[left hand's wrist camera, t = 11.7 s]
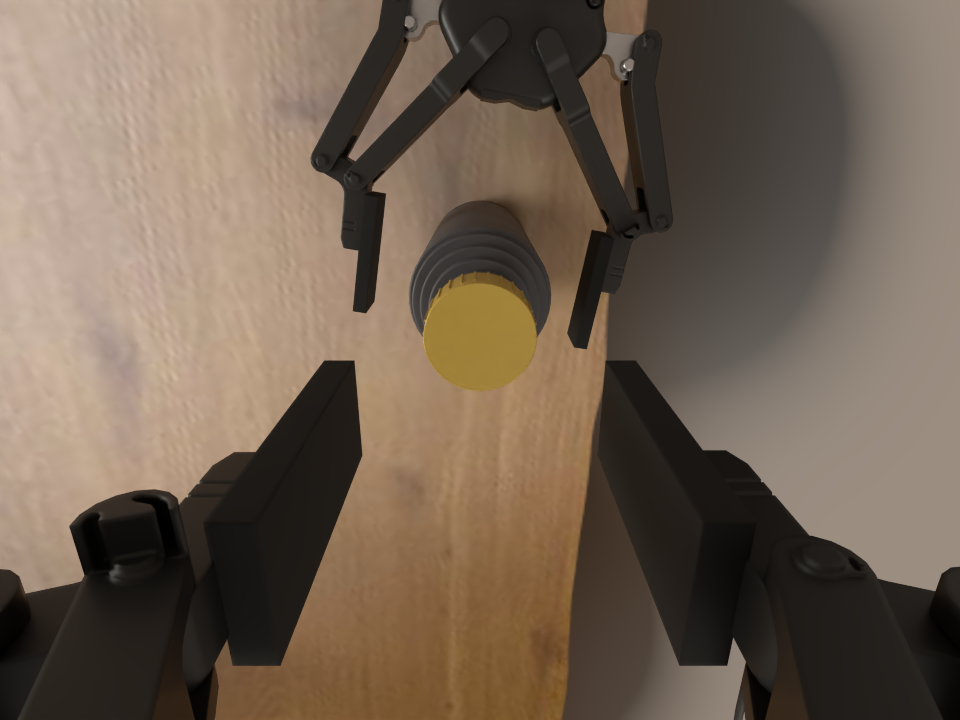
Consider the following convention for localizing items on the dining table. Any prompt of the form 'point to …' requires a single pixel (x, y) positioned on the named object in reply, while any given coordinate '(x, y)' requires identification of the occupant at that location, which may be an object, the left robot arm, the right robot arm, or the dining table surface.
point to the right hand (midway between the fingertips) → (471, 324)
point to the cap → (480, 332)
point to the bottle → (480, 258)
